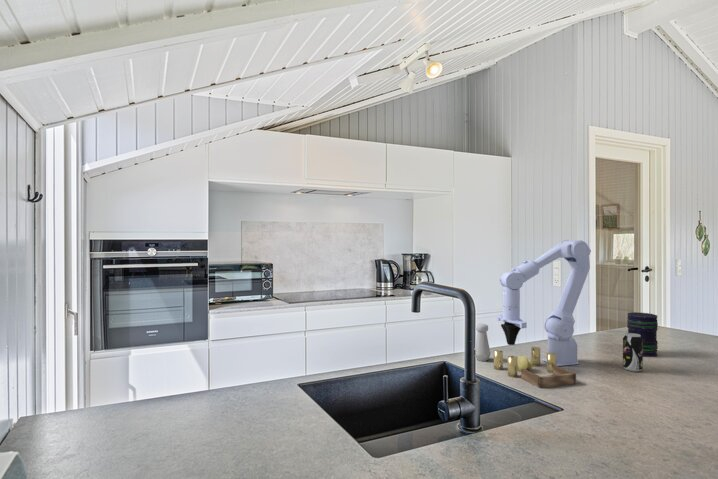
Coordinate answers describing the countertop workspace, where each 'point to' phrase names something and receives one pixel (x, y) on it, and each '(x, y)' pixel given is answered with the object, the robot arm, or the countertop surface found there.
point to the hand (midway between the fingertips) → (511, 344)
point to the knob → (524, 363)
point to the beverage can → (632, 352)
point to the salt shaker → (482, 343)
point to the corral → (550, 378)
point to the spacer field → (513, 361)
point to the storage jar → (644, 331)
